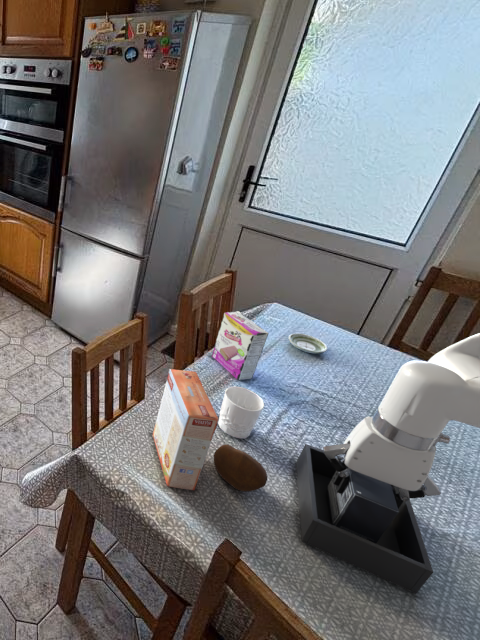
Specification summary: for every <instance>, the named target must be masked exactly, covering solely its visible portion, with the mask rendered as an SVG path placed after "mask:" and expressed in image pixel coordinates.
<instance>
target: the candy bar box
mask: <svg viewBox="0 0 480 640" xmlns="http://www.w3.org/2000/svg"><path fill="white" fill-rule="evenodd" d="M268 336H269V332H267V330H265V329H264V328H262V327H261V326H260V325H258V324H257V323H255V322H254V321H253V320H251V319H250V318H249V317H247V316H246V315H245V314H243V313H242V312H240V311H239V310H237V311H236V310H235V311H230V312H229V311H227V312H224V313H223V317H222V320H221V323H220V326H219V330H218V333H217V337H216V340H215V343H214V347H213V350H212V352H211V353H212V354H211V357H212V358H213V359H214V360H215V361H216V362H217V363H218V364H220V365H221V366H222V367H223V368H224V369H225V370H226V371H227V372H228V373H229V374H230V375H232V377H234V378H235V379H236V380H237V381H243V380H251V379H253V378H254V375H255V372H256V370H257V367H258V364H259V361H260V358H261V355H262V352H263V349H264V346H265V344H266V342H267V338H268Z"/></svg>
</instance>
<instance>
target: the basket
mask: <svg viewBox="0 0 480 640" xmlns="http://www.w3.org/2000/svg"><path fill="white" fill-rule="evenodd" d="M336 456H338V458H339V459H340V460H342V459H343V458H344V456H342V455H336ZM295 470H296V471H295V472H296V473H295V474H296V485H297V486H296V487H297V502H298V512H299V526H300V527H299V528H300V540H301V542H303V543H304V544H307V545H309V546H311V547H313V548H316V549H317V550H320V551H322V552H323V553H326V554H328V555H331V556H334V557H335V558H337V559H339V560H341V561H344V562H346V563H348V564H350V565H353V566H355V567H356V568H359V569H361V570H363V571H365V572H367V573H369V574H372V575H374V576H377V577H379V578H380V579H383V580H384V581H387V582H389V583H392V584H394V585H396V586H398V587H400V588H402V589H405V590H407V591H409V592H411V593H413V594H415V595H416V594H417V593H418V592H419V591H420V589H421V588H422V587H423V586H424V585H425V583H426V582H427V581H428V580H429V579H430V577H431V576H432V575H433V574H434V570H433V567H432V564H431V561H430V558H429V554H428V551H427V549H426V545H425V542H424V538H423V536H422V533H421V529H420V527H419V523H418V520H417V517H416V514H415V511H414V508H413V505H412V502H411V499H410V500H409V501H403V503H402V504H401V506H400V507H399V509H398V511H399V513H398V514H397V515H396V516H395V518H394V519H393V521H392V522H391V523H390V525H389V526H388V528H387V529H386V530H385V532H384V533H383V535H382V536H381V537H380V539H379V540H378V542H377V543H376V544H375V543H373V542H371V541H368V540H366V539H364V538H361V537H359V536H357V535H354V534H352V533H350V532H347V531H345V530H343V529H340V528H338V527H336V526H334V525H332V524H331V517H330V511H329V503H328V496H327V488H326V487H327V486H328V484H329V483H330V481H331V479H332V478H333V476H334V474H335V472H336V471H337V470H336V469H335V468H334V467H333V465H332V464H331V462H330V460H329V459H328V458H327V457H326V455H325V454H324V451H323V449H321V448H319V447H315V446H312V445H310V444H307V443H305V444H304V445H303V448H302V450H301V452H300V454H299V456H298V457H297V460H296V463H295ZM391 486H393V485H391Z"/></svg>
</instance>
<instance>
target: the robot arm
mask: <svg viewBox="0 0 480 640" xmlns="http://www.w3.org/2000/svg"><path fill="white" fill-rule="evenodd" d="M389 385H390V386H389V387H388V389H387V391H386V393H385V395H384V396H383V398H382V400H381V402H380V404H379V405H378V407H377V409H376V411H375V412H374V414H373V416H365V417H364V418H363V419H362V420H360V422H358V423H357V425H356V426H355V427H354V428H353V429H352V430H351V431H350V433H349V434H348V436H347V437H346V438H345V440H344V442H343V443H341V444H333V445H326V446H323V447H322V450H323V451H324V454H325V455H326V457H327V458H328V459H329V460H330V462H331V464H332V465H333V467H334V468H335V469H336V470H337V471H336V472H335V474H334V476H333V478H332V482H333V484H335V486H336V492H337V493H340V494H341V493H342V492H343V491H344V489H345V487H346V485H347V484H348V482H349V478H348V476H350V475H352V474H354V473H356V472H359V473H362V474H364V475H367V476H370V477H372V478H375V479H378V480H380V481H383V482H386V483H388V484H391V485H393V486H391V488H392V491H393V494H394V498H395V501H396V504H397V507H398V509H399V507H400V506H401V504H402V503H403V501H409V500H410V501H411V499H422V498H425V496H426V497H435V496H441V490H440V488H439V486H438V485H437V484H436V483H435V481H434V480H433V479H432V477H430V472H431V470H432V467H433V464H434V460H435V458H436V451H437V447H436V445H437V444H438V443H443V444H447V445H448V444H449V443H450V441H451V437H450V435H446V434H444V433H443V431H444V430H445V428H446V426H447V425H448V423H449V422H450V421H454V422H458V423H461V424H465V425H468V426H471V427H474V428H478V429H480V332H478V333H476V334H474V335H470V336H469V337H465V338H464V339H462V340H459V341H458V342H455V343H453V344H451V345H449V346H447V347H446V348H443V349H442V350H440V351H437V353H435V354H434V355H432V356H431V357H430V358H429V359H428V360H427V361H426V360H410V361H407V362H405V363H403V364H402V365H401V366H400V368H399V369H398V371H397V373H396V374H395V377H394V379H393V380H392V382H391V383H390V384H389ZM345 454H346V456H345V458H344V457H343V458H344V459H342V460H340V459H339V458H338V456H342V455H343V456H344V455H345ZM336 455H338V456H336Z"/></svg>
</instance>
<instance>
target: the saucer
mask: <svg viewBox="0 0 480 640" xmlns="http://www.w3.org/2000/svg"><path fill="white" fill-rule="evenodd" d="M288 341H289V342H290V343H291V345H292V346H293V347H294V348H296V349H298V350H300V351H301V352H302V351H303V352H304V353H310V354H323V353H325V352H327V351H328V346H327V344H326V342H324V341H322V340H321V339H319V338H317V337H315V336H312V335H309V334H305V333H300V332H299V333H295V332H294V333H290V334H289V335H288Z"/></svg>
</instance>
